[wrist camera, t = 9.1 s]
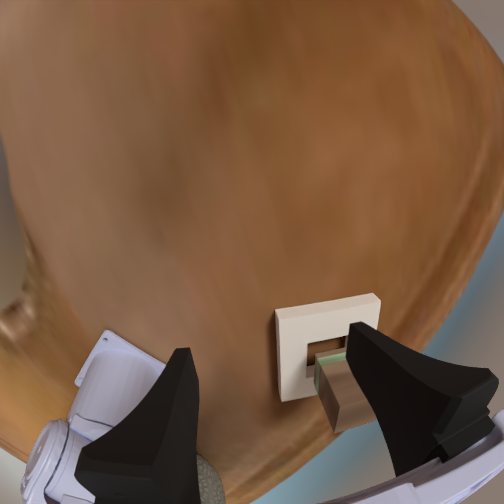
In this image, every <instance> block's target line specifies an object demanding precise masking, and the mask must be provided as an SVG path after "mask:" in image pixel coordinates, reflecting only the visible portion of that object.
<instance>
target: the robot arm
mask: <svg viewBox="0 0 504 504" xmlns="http://www.w3.org/2000/svg"><path fill="white" fill-rule="evenodd" d="M105 338H107V339H108V340H106V339H105ZM345 357H346V360H347V363H348V365H349V368H350V370H351V372H352V375H353V376H354V378H355V380H356V382H357V383H358V385H359V387H360V388H361V390H362V392H363V394H364V395H365V397H366V399H367V400H368V402H369V404H370V406H371V407H372V409H373V411H374V413H375V415H376V418H377V420H378V422H379V425H380V427H381V430H382V432H383V435H384V438H385V441H386V443H387V446H388V449H389V453H390V456H391V459H392V463H393V467H394V470H395V475H396V478H393V479H391V480H389V481H386V482H384V483H381V484H379V485H376V486H373V487H370V488H368V489H365V490H362V491H359V492H356V493H353V494H350V495H347V496H344V497H340V498H337V499H334V500H330V501H326V502H322V503H318V504H458V503H460V502H461V501H462V500H464V499H465V498H467V497H468V496H470V495H471V494H472V493H474V492H475V491H476V490H478V489H479V488H480V487H481V486H483V485H484V484H485V483H487V482H488V481H489V480H491V479H492V478H493V477H494V476H495V475H496V474H498V473H499V472H500V471H501V470H503V469H504V408H503V409H502V410H500V411H499V412H498V413H497V414H495V415H494V416H493V417H492V418H491V419H490V417H489V416H488V414H489V413H490V410H489V409H488V408H487V405H488V404H489V402H490V400H491V399H492V397H493V395H494V394H495V392H496V390H497V388H498V384H499V379H498V378H497V377H496V376H495V375H494V374H493V373H492V372H491V371H490V370H489V369H488V368H477V367H467V366H461V365H456V364H452V363H447V362H444V361H440V360H437V359H434V358H431V357H428V356H426V355H423V354H421V353H418V352H416V351H414V350H412V349H410V348H408V347H406V346H404V345H402V344H400V343H398V342H396V341H394V340H393V339H391V338H389V337H388V336H386V335H384V334H382V333H381V332H379V331H378V330H376V329H374V328H373V327H371V326H369V325H367V324H366V323H364V322H362V321H360V322H355V323H350V324H349V333H348V341H347V349H346V356H345ZM75 384H76V385H77V386H78V387H80V388H79V390H78V392H77V395H76V397H75V400H74V402H73V404H72V407H71V409H70V412H69V414H68V417H67V419H66V422H65V421H63V420H62V419H57V420H53V421H49V422H48V423H47V424H46V426H45V427H44V429H43V430H42V432H41V433H40V435H39V437H38V439H37V441H36V443H35V445H34V447H33V449H32V451H31V454H30V456H29V459H28V462H27V466H26V470H25V474H24V477H23V479H22V482H21V488H20V489H21V490H20V491H21V495H22V501H23V504H201V498H200V490H199V481H198V469H197V454H196V437H197V424H198V411H199V380H198V376H197V373H196V369H195V365H194V362H193V358H192V354H191V350H190V347H189V348H177V349H175V351H174V352H173V354H172V356H171V358H170V359H169V361H168V363H167V365H165V364H163V363H162V362H160V361H158V360H156V359H155V358H153V357H151V356H150V355H148V354H146V353H145V352H143V351H141V350H140V349H138V348H136V347H135V346H133V345H131V344H130V343H128V342H127V341H125V340H124V339H122V338H120V337H119V336H117V335H116V334H114V333H113V332H111V331H109V330H105V331H104V332H103V334H102V335H101V337H100V339H99V340H98V342H97V343H96V345H95V347H94V348H93V350H92V352H91V353H90V355H89V357H88V359H87V360H86V362H85V364H84V365H83V367H82V369H81V371H80V372H79V374H78V376H77V378H76V379H75Z"/></svg>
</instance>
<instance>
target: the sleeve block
mask: <svg viewBox="0 0 504 504" xmlns="http://www.w3.org/2000/svg"><path fill="white" fill-rule="evenodd" d="M380 305H381V301H380V300H379V299H378V298H377V297H376V296H375V295H374V294H373V293H369V294H364V295H359V296H353V297H348V298H343V299H337V300H331V301H325V302H320V303H314V304H307V305H301V306H295V307H288V308H281V309H275V319H276V341H277V364H278V390H279V394H280V398H281V402H283V401H289V400H294V399H300V398H304V397H309V396H314V395H318V394H317V392H316V389H315V385H314V369H315V365H311V366H307V343H312V342H317V341H322V340H327V339H332V338H337V337H341V336H346V338H345V347H347V341H348V333H349V324H350V323H355V322H360V321H362V322H364V323H366V324H367V325H369V326H371V327H373V328H374V329H376V330H377V324H378V318H379V312H380ZM345 347H344V348H345Z"/></svg>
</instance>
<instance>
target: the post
mask: <svg viewBox="0 0 504 504" xmlns="http://www.w3.org/2000/svg"><path fill="white" fill-rule="evenodd" d="M346 349H347V347H345V348H340V349H336V350H331V351H327V352H322V353H317V354H315V369H314V385H315V389H316V392H317V394H318V395H319V397H320V399H321V402H322V404H323V407H324V409H325V412H326V414H327V417H328V419H329V422H330V424H331V426H332V429H333V431H334V433H337V432H340V431H344V430H347V429H350V428H354V427H357V426H361V425H364V424H367V423H370V422H373V421H375V420H376V415H375V413H374V411H373V409H372V407H371V406H370V404H369V402H368V400H367V399H366V397H365V395H364V394H363V392H362V390H361V388H360V387H359V385H358V383H357V382H356V380H355V378H354V376H353V375H352V372H351V370H350V368H349V365H348V363H347V360H346V357H345V356H346Z"/></svg>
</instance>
